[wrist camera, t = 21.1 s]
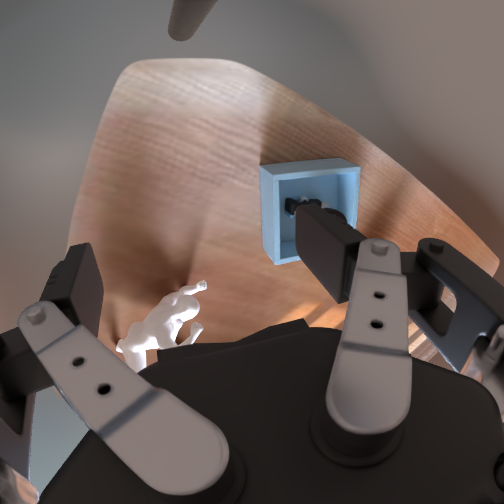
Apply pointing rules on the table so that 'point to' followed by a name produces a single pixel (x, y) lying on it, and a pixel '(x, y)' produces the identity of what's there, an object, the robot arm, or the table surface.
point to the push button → (292, 204)
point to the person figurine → (162, 326)
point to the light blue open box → (303, 184)
